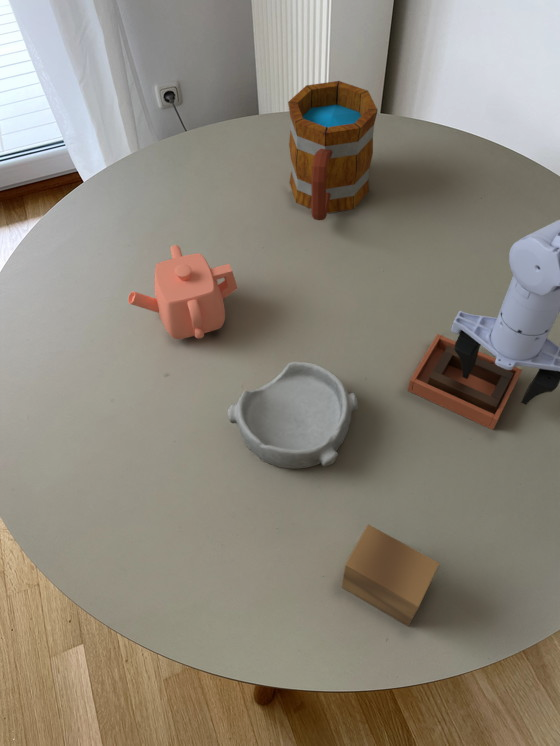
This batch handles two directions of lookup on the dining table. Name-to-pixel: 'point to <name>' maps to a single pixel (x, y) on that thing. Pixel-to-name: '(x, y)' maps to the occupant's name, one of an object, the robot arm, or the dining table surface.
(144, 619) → the dining table surface
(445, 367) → the frame
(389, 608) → the stand
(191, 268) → the teapot
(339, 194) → the mug
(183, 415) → the dining table surface
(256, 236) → the dining table surface
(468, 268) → the dining table surface
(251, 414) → the dish
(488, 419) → the holder
